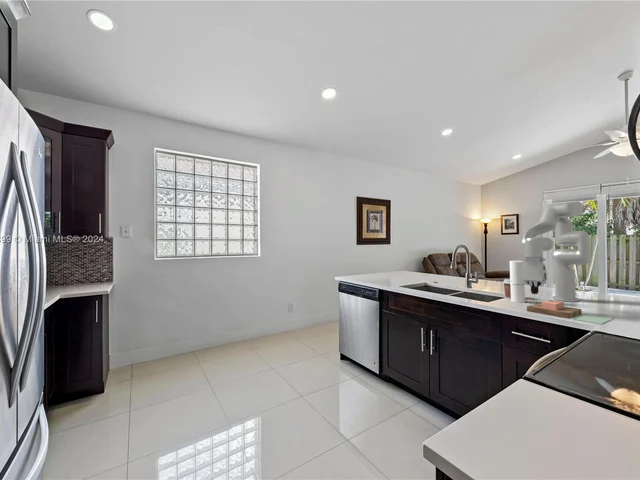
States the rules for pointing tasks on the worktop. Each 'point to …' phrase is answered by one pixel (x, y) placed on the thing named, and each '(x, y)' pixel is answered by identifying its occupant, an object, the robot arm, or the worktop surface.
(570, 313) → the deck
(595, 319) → the mat
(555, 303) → the pink rectangular block
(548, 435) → the worktop surface
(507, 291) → the coffee cup
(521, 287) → the cylindrical container
